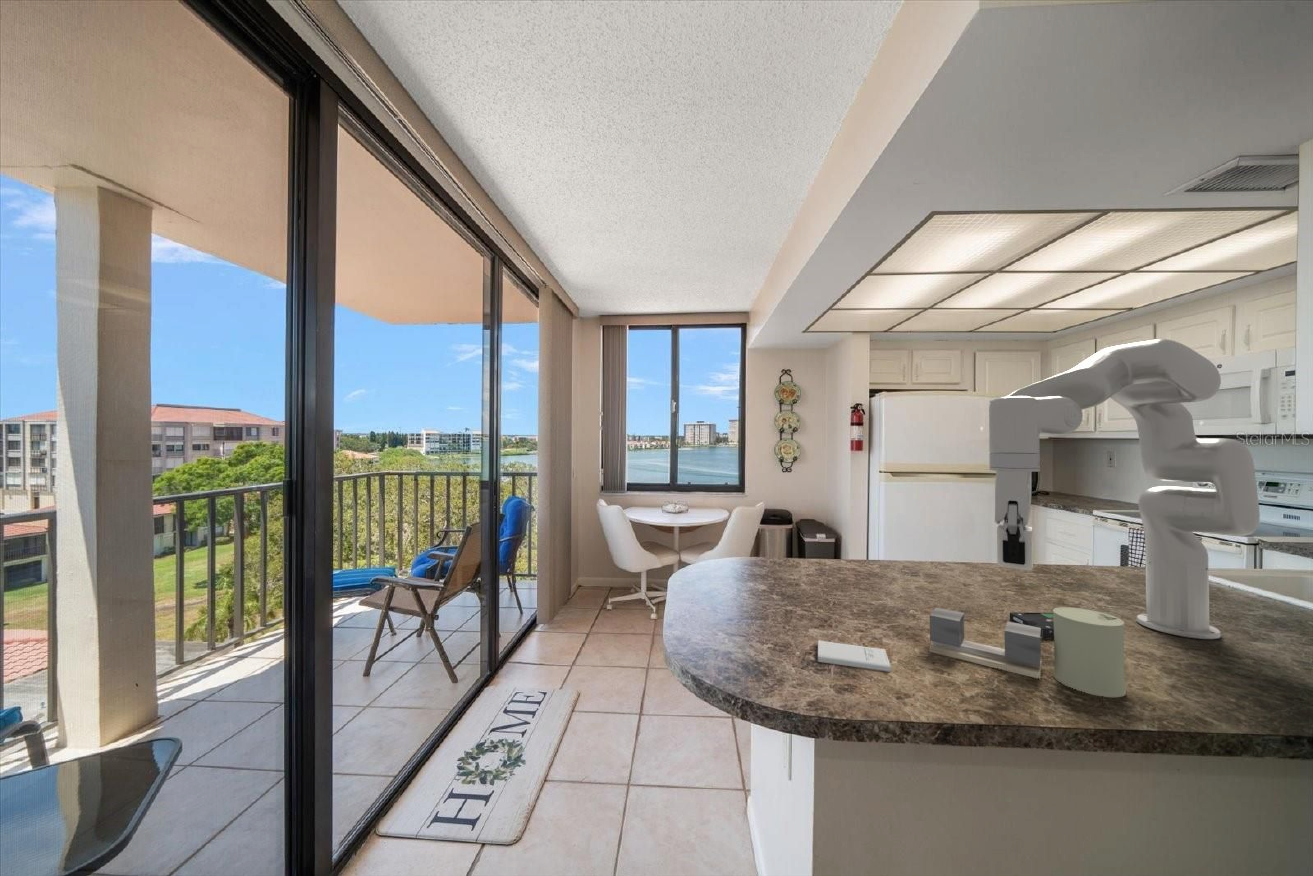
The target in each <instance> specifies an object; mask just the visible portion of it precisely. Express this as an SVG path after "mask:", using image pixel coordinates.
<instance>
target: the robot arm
mask: <svg viewBox="0 0 1313 876" xmlns="http://www.w3.org/2000/svg"><path fill="white" fill-rule="evenodd" d="M1221 384H1222V378H1221V374H1220V371H1219V370H1218V368H1217V366H1216V365H1215V364H1214V363H1213V362H1212V361H1211V360H1209V359H1208V358H1206V357H1205V356H1204V355H1201V354H1200V353H1198V352H1197V351H1196V350H1194V349H1193V348H1191V347H1188V346H1186V345H1185V344H1183V343H1181V342H1178V341H1176V340H1172V339H1165V338H1158V339H1152V340H1146V341H1139V342H1132V343H1127V344H1126V343H1125V344H1120V345H1115V346H1110V347H1106V348H1103V349H1101V350H1099V351H1098V352H1096V353H1094V354H1093V355H1091V356H1090V357H1088V358H1086V359H1085V360H1083V361H1082V362H1080V363H1078V365H1076V366H1074V367H1073V368H1071V369H1069V370H1067V371H1064V372H1062V373H1059V374H1056V375H1054V376H1051V377H1048V378H1045V379H1043V380H1040V381H1037V382H1033V383H1031V384H1029V385H1026V386H1023V387H1020V388H1018V389H1017V390H1015V391H1013V392H1011V393H1009V394H1008V395H1006V396H1002V397H998V398H997V397H996V398H994V399H992V400H991V401H990V403H989V406H988V412H989V413H988V420H989V421H988V422H989V423H988V428H989V429H988V430H989V431H988V434H989V437H988V438H989V439H988V441H989V442H988V443H989V444H988V445H989V448H988V450H989V454H988V455H989V459H988V461H989V471H995V483H994V484H995V485H994V486H995V487H994V523H996V524H997V525H999V524H1001V522H1003V521H1004V523H1003V525H1004V540H1003V561H1004V562H1005V563H1013V564H1020V565H1024V564H1025V542H1023V528H1024V527H1023V526H1026V527H1027V526H1028V524H1029V520H1030V516H1031V509H1032V507H1031V506H1032V472H1036V473H1037V472H1039V473H1040V472H1041V469H1040V468H1041V466H1040V464H1041V459H1040V458H1041V456H1040V455H1041V453H1040V452H1041V451H1040V447H1041V445H1040V437H1060V436H1065V435H1069V434H1072V433H1073V432H1074V431H1076V430H1077V429H1079V427H1080V426H1081V424H1082V421H1083V418H1084V417H1083V410H1086V409H1089V408H1093V407H1097V406H1099V405H1101V404H1103V403H1104V402H1105V401H1107V400H1108V399H1112V400H1113V401H1114V402H1115V403H1117V404H1118V405H1120V406H1122V407H1123V408H1124V409H1126V410H1127V412H1129V413H1130V414H1131V415H1132V417H1133V418H1134V421H1135V423H1136V427H1137V433H1138V442H1139V448H1140V449H1139V450H1140V455H1141V456H1140V457H1141V463H1142V467H1143V470H1144V473H1145V474H1146V476H1148V477H1149V478H1150V479H1151V478H1152V480H1153V479H1154V480H1157V481H1164V482H1173V483H1175V482H1176V483H1195V484H1196V483H1197V484H1210V485H1212V486H1213V487H1214V488H1205V487H1194V486H1193V487H1191V486H1177V485H1176V486H1174V485H1161V486H1153V487H1150V488H1148V489H1146V490H1144V491H1143V492H1142V493H1141V494H1140V495H1139V498H1138V512H1139V515H1140V519H1141V522H1142V527H1143V532H1144V533H1143V535H1144V546H1145V552H1144V553H1145V555H1144V556H1145V559H1144V560H1145V607H1146V608H1145V610H1146V613H1141V614H1137V615H1136V621H1137V623H1139V624H1140V625H1142V626H1143V627H1145V628H1146V627H1147V628H1149V629H1150V630H1154V631H1158V632H1162V633H1165V634H1169V635H1173V636H1179V637H1184V638H1190V639H1198V640H1199V639H1200V640H1216V639H1220V638H1221V637H1222V635H1221V630H1219V629H1218V628H1216V627H1215V626H1213V625H1210V587H1209V586H1210V585H1209V583H1210V581H1209V553H1208V550H1207V548H1206V546H1205V545H1204V543H1203V542H1202V541H1201V540H1200V539H1199V538H1198V537H1197V536H1196V534H1194V533H1202V534H1203V533H1204V534H1211V535H1212V534H1213V535H1220V536H1230V537H1231V536H1232V537H1247V536H1250V535H1252V534H1254V533H1255V532H1256V531H1257V529H1258V527H1259V525H1260V518H1261V517H1260V515H1261V514H1260V513H1261V512H1260V503H1259V493H1258V487H1257V480H1256V479H1257V478H1256V470H1255V465H1254V464H1255V463H1254V459H1253V456H1252V453H1251V451H1250V450H1249V448H1248V447H1247V445H1245V444H1244V443H1243V442H1241V441H1239V440H1236V439H1232V438H1221V437H1219V438H1217V437H1215V438H1213V437H1211V438H1207V437H1206V438H1205V437H1203V438H1199V437H1197V435H1196V433H1195V432H1196V431H1195V427H1194V420H1193V416H1192V414H1191V412H1190V410H1188V408H1186V406H1184V404H1182V403H1197V402H1202V401H1206V400H1209V399H1211V398H1212V397H1214V396H1215V395H1216V394H1217V392H1218V391H1219V390H1220V388H1221Z"/></svg>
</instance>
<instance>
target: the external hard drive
mask: <svg viewBox="0 0 1313 876" xmlns="http://www.w3.org/2000/svg"><path fill="white" fill-rule="evenodd" d="M817 662H819V663H825V664H833V665H840V666H846V667H852V668H853V667H854V668H860V669H866V670H874V671H875V670H876V671H883V672H888V673H891V672H892V667H891V663H890V661H889V657H888V654H887V651H886V649H884V648H876V647H869V646H863V645H855V644H847V643H841V642H840V643H839V642H835V641H834V642H832V641H826V640H825V641H824V640H817Z"/></svg>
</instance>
